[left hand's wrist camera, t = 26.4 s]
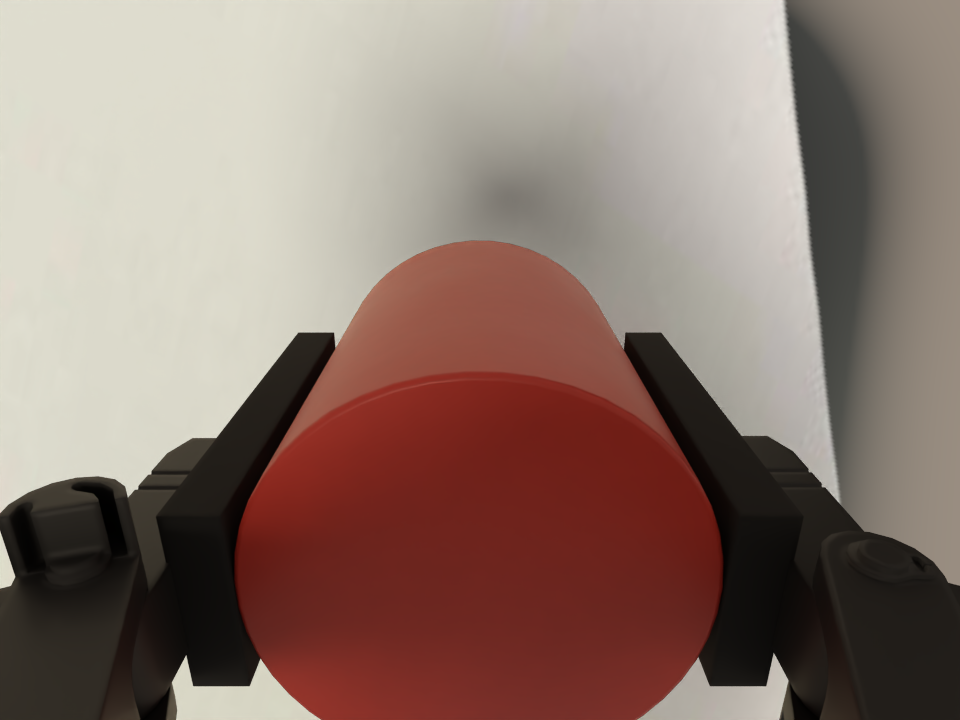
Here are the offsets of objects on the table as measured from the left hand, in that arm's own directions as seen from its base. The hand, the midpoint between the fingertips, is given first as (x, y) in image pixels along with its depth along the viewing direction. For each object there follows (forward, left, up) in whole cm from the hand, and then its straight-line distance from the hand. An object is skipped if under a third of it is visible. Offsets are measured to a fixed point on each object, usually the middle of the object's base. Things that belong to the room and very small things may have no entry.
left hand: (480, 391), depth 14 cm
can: (0, 0, -1) cm, 1 cm away
